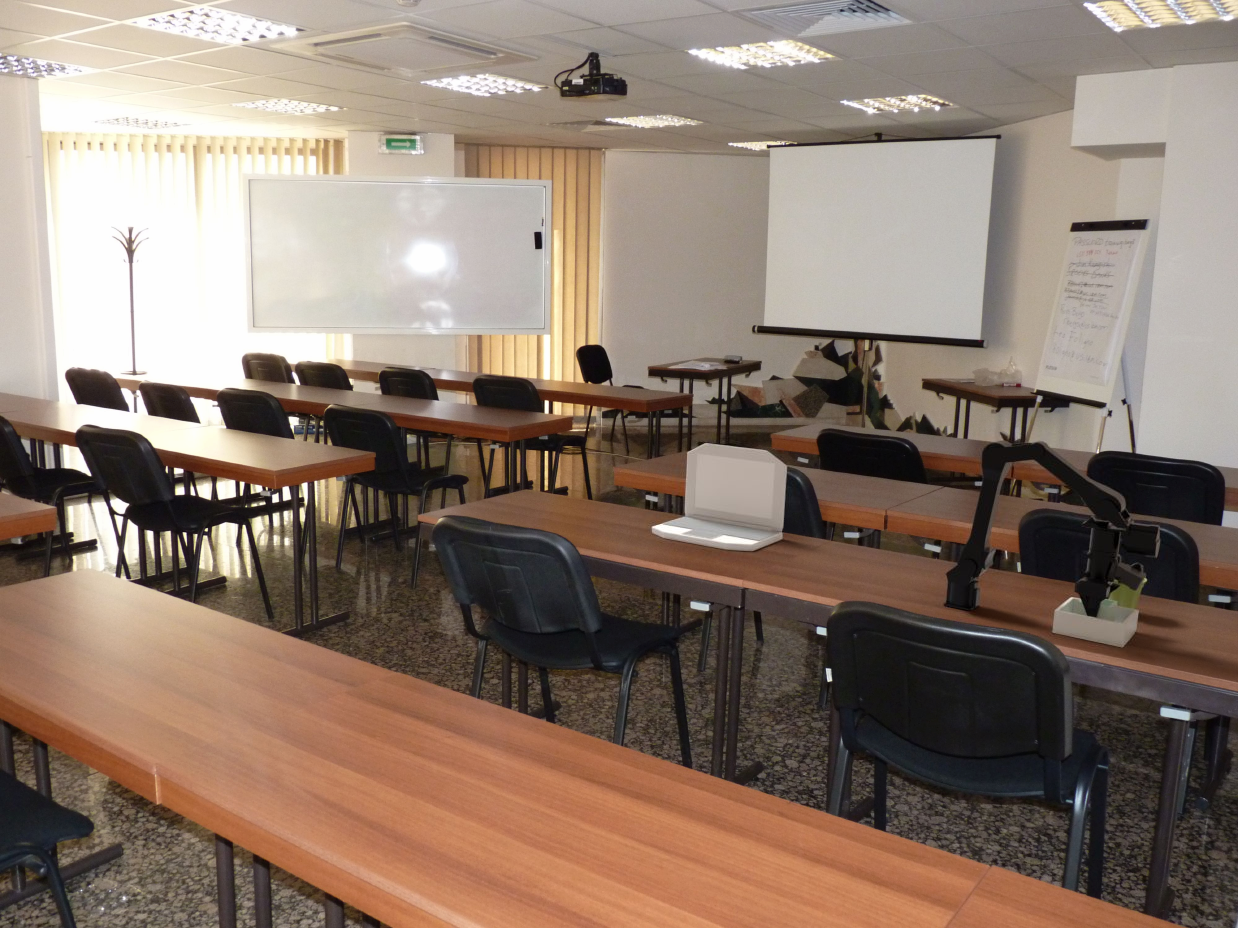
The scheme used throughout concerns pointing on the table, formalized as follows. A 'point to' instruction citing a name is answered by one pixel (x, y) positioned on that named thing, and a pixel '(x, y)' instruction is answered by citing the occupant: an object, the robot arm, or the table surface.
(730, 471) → the laptop
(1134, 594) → the plant pot
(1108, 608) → the small crate
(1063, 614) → the big crate
